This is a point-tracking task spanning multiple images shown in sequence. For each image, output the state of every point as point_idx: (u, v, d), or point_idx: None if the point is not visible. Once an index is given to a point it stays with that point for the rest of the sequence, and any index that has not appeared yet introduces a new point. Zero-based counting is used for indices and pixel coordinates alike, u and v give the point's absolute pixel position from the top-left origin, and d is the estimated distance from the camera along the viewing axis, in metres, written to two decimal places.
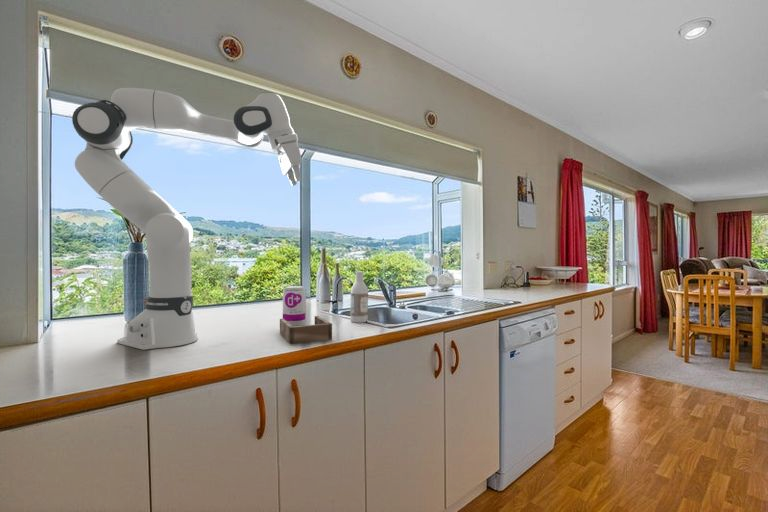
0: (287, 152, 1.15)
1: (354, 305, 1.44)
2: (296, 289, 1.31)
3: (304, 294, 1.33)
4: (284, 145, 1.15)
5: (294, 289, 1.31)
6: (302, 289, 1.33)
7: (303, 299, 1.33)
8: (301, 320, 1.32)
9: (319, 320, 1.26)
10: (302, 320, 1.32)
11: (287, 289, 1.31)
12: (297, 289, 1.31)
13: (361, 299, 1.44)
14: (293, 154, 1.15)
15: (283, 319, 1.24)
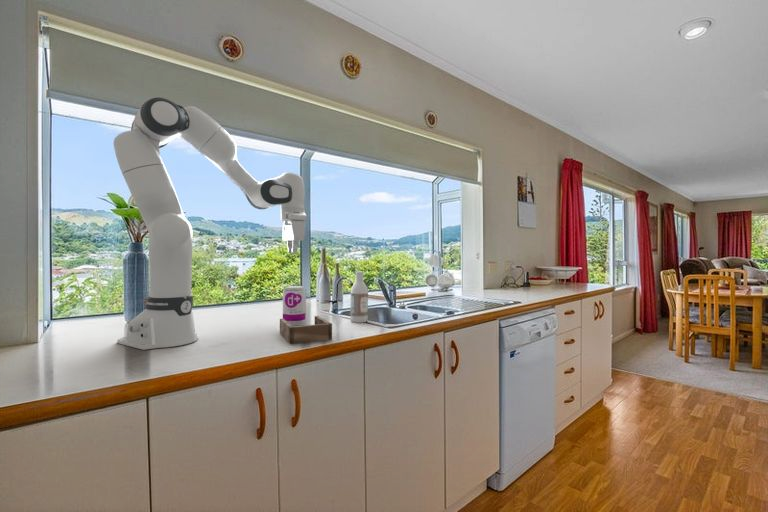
0: (294, 229, 1.30)
1: (354, 305, 1.44)
2: (296, 289, 1.31)
3: (304, 294, 1.33)
4: (293, 222, 1.31)
5: (294, 289, 1.31)
6: (302, 289, 1.33)
7: (303, 299, 1.33)
8: (301, 320, 1.32)
9: (319, 320, 1.26)
10: (302, 320, 1.32)
11: (287, 289, 1.31)
12: (297, 289, 1.31)
13: (361, 299, 1.44)
14: (298, 232, 1.31)
15: (283, 319, 1.24)
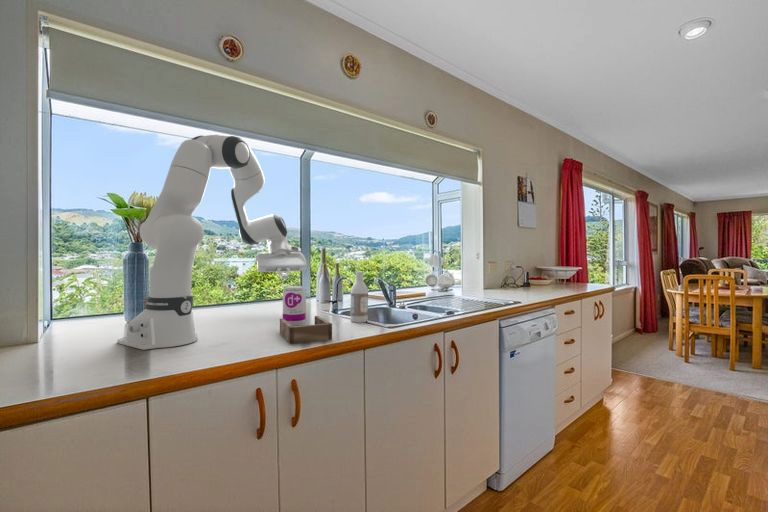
0: None
1: (354, 305, 1.44)
2: (296, 289, 1.31)
3: (304, 294, 1.33)
4: None
5: (294, 289, 1.31)
6: (302, 289, 1.33)
7: (303, 299, 1.33)
8: (301, 320, 1.32)
9: (319, 320, 1.26)
10: (302, 320, 1.32)
11: (287, 289, 1.31)
12: (297, 289, 1.31)
13: (361, 299, 1.44)
14: None
15: (283, 319, 1.24)
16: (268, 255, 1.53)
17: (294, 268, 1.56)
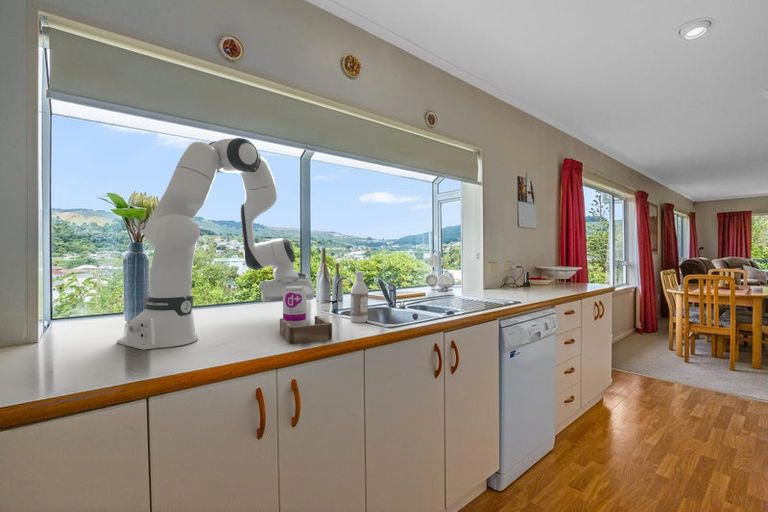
0: (312, 286, 1.47)
1: (354, 305, 1.44)
2: (296, 289, 1.31)
3: (304, 294, 1.33)
4: None
5: (294, 289, 1.31)
6: (302, 289, 1.32)
7: (303, 299, 1.32)
8: (302, 320, 1.32)
9: (319, 320, 1.26)
10: (302, 320, 1.32)
11: (287, 289, 1.31)
12: (297, 289, 1.31)
13: (361, 299, 1.44)
14: None
15: (283, 319, 1.24)
16: (273, 283, 1.41)
17: None
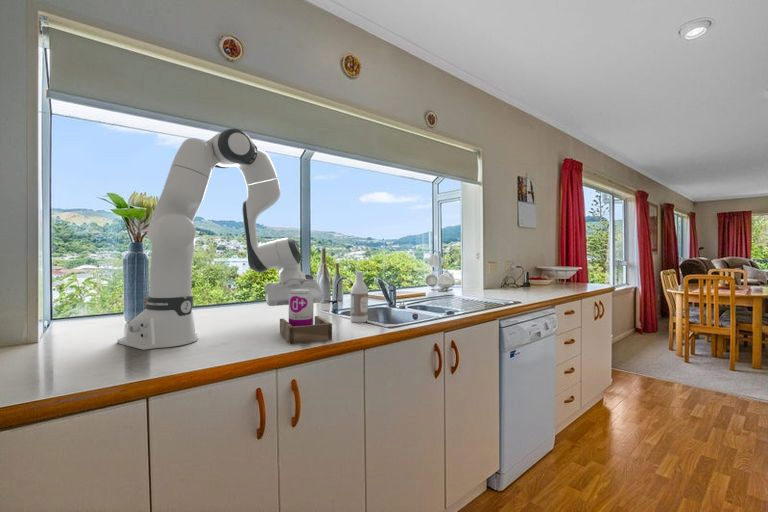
0: None
1: (354, 305, 1.44)
2: (301, 292, 1.21)
3: (311, 298, 1.23)
4: None
5: (299, 292, 1.21)
6: (308, 292, 1.23)
7: (309, 303, 1.23)
8: None
9: (319, 320, 1.26)
10: None
11: (292, 292, 1.22)
12: (302, 292, 1.22)
13: (361, 299, 1.44)
14: None
15: (283, 319, 1.24)
16: (279, 286, 1.32)
17: None
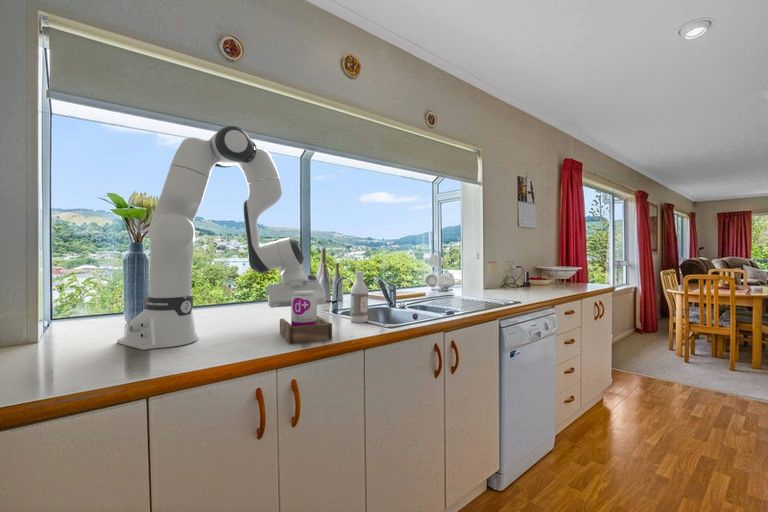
0: None
1: (354, 305, 1.44)
2: (304, 294, 1.18)
3: (314, 300, 1.19)
4: None
5: (302, 294, 1.18)
6: (311, 294, 1.19)
7: (312, 305, 1.19)
8: None
9: (319, 320, 1.26)
10: None
11: (295, 294, 1.18)
12: (305, 294, 1.18)
13: (361, 299, 1.44)
14: None
15: (283, 319, 1.24)
16: (281, 287, 1.29)
17: None
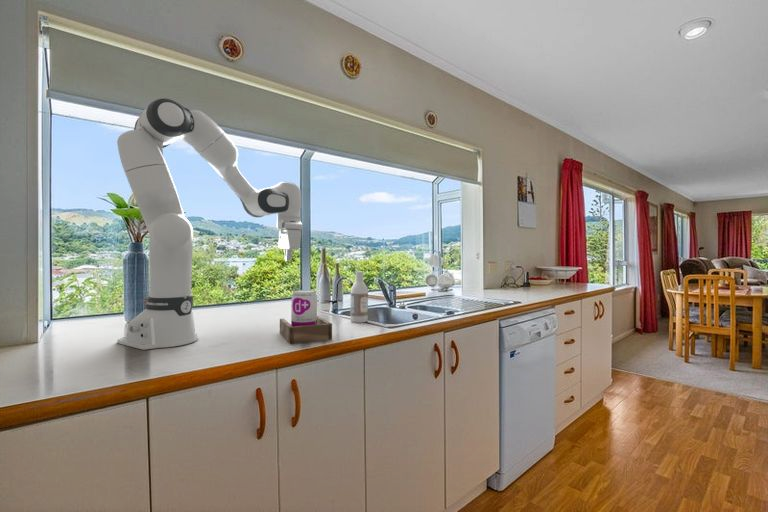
0: (289, 238, 1.31)
1: (354, 305, 1.44)
2: (304, 294, 1.18)
3: (314, 300, 1.19)
4: (289, 231, 1.31)
5: (302, 294, 1.18)
6: (311, 294, 1.19)
7: (312, 305, 1.19)
8: None
9: (319, 320, 1.26)
10: None
11: (295, 294, 1.18)
12: (305, 294, 1.18)
13: (361, 299, 1.44)
14: (294, 241, 1.32)
15: (283, 319, 1.24)
16: None
17: None
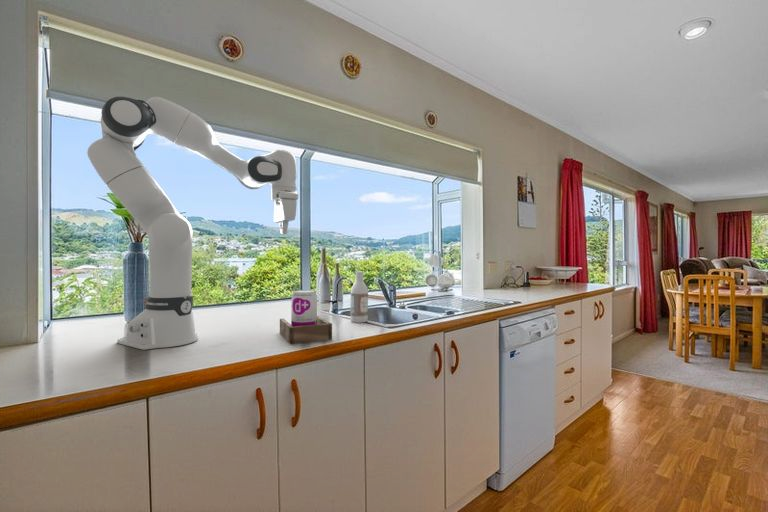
0: (284, 207, 1.24)
1: (354, 305, 1.44)
2: (304, 294, 1.18)
3: (314, 300, 1.19)
4: (284, 200, 1.25)
5: (302, 294, 1.18)
6: (311, 294, 1.19)
7: (312, 305, 1.19)
8: None
9: (319, 320, 1.26)
10: None
11: (295, 294, 1.18)
12: (305, 294, 1.18)
13: (361, 299, 1.44)
14: (289, 211, 1.25)
15: (283, 319, 1.24)
16: (276, 205, 1.38)
17: None
